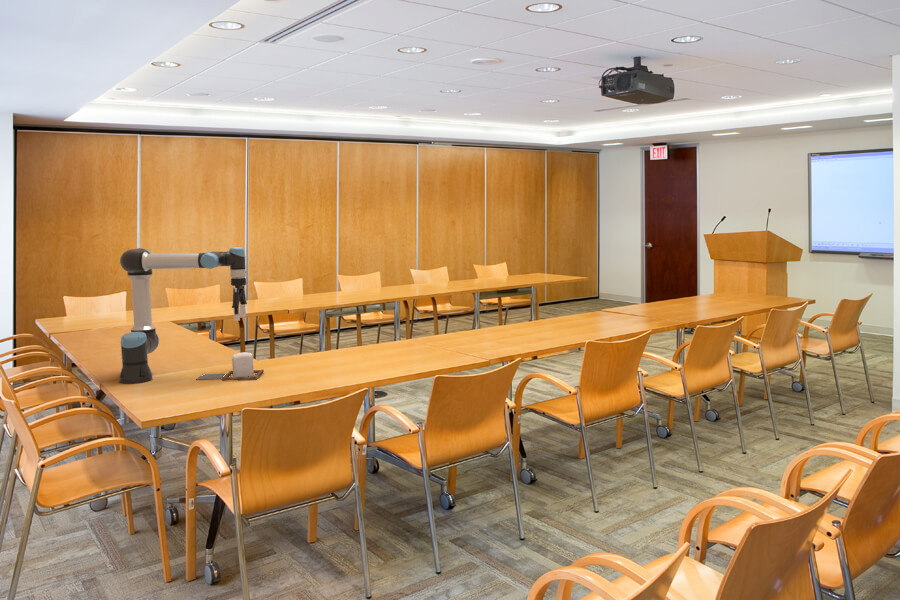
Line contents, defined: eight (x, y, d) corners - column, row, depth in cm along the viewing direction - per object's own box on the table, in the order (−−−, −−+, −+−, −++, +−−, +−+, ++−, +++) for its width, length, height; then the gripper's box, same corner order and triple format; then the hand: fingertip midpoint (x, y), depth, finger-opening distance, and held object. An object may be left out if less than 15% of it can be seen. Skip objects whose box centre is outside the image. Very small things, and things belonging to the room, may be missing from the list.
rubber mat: (195, 380, 363) (195, 379, 363) (202, 375, 375) (202, 374, 375) (220, 379, 364) (220, 378, 364) (226, 374, 376) (226, 373, 376)
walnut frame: (222, 380, 361) (221, 377, 361) (230, 373, 378) (230, 370, 377) (257, 380, 362) (256, 377, 362) (263, 372, 379) (263, 369, 378)
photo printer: (233, 378, 366) (232, 354, 364) (232, 377, 369) (231, 352, 368) (254, 376, 370) (253, 352, 369) (253, 374, 374) (252, 351, 372)
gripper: (240, 279, 362) (242, 322, 365) (250, 275, 387) (252, 315, 390) (224, 279, 362) (226, 322, 364) (236, 275, 387) (238, 315, 389)
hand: (240, 318), depth 377 cm, fingers open, 13 cm apart
